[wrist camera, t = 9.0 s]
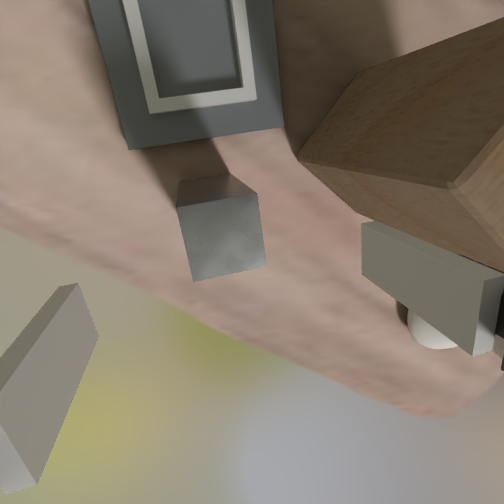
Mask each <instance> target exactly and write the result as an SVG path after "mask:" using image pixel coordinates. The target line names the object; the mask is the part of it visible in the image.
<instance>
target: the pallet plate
mask: <svg viewBox="0 0 504 504" xmlns="http://www.w3.org/2000/svg"><path fill="white" fill-rule="evenodd" d="M88 2H89V6H90V9H91V13H92V17H93V20H94V24H95V28H96V31H97V35H98V39H99V42H100V46H101V50H102V53H103V57H104V61H105V64H106V68H107V72H108V75H109V79H110V83H111V86H112V90H113V94H114V97H115V101H116V105H117V108H118V112H119V116H120V119H121V123H122V127H123V130H124V134H125V138H126V141H127V145H128V149H129V150H133V149H139V148H146V147H153V146H159V145H166V144H172V143H179V142H186V141H192V140H199V139H205V138H212V137H218V136H225V135H232V134H238V133H245V132H251V131H258V130H265V129H271V128H278V127H284V117H283V107H282V96H281V86H280V75H279V64H278V54H277V43H276V32H275V22H274V11H273V0H88Z"/></svg>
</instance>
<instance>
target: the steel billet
mask: <svg viewBox="0 0 504 504" xmlns="http://www.w3.org/2000/svg"><path fill="white" fill-rule="evenodd" d="M176 209H177V214H178V218H179V222H180V227H181V231H182V235H183V239H184V244H185V248H186V252H187V256H188V261H189V265H190V269H191V273H192V278H193V282H195V281H200V280H205V279H209V278H214V277H219V276H223V275H228V274H232V273H237V272H242V271H246V270H251V269H256V268H260V267H265V266H267V264H266V256H265V249H264V241H263V234H262V226H261V219H260V211H259V204H258V196H257V193H256V192H255V191H253V190H252V189H251V188H249V187H248V186H247V185H245V184H244V183H243V182H241V181H240V180H239V179H237V178H236V177H234V176H233V175H232V174H224V175H218V176H212V177H206V178H201V179H195V180H189V181H183V182H179V187H178V196H177V204H176Z"/></svg>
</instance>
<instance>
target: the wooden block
mask: <svg viewBox="0 0 504 504" xmlns="http://www.w3.org/2000/svg"><path fill="white" fill-rule="evenodd" d="M296 158H297V160H298V161H299V162H300V163H301V164H302V165H303V166H304V167H305V168H307V169H308V170H309V171H310V172H311V173H312V174H313V175H315V176H316V177H317V178H318V179H319V180H320V181H321V182H322V183H324V184H325V185H326V186H327V187H328V188H329V189H330V190H332V191H333V192H334V193H335V194H336V195H337V196H338V197H339V198H341V199H342V200H343V201H344V202H345V203H346V204H347V205H348V206H350V207H351V208H352V209H353V210H354V211H355V212H356V213H358V214H361V215H363V216H365V217H368V218H370V219H372V220H375V221H378V222H380V223H383V224H385V225H387V226H390V227H392V228H395V229H397V230H399V231H402V232H404V233H407V234H409V235H411V236H414V237H416V238H419V239H421V240H424V241H426V242H428V243H431V244H433V245H436V246H438V247H440V248H443V249H445V250H448V251H450V252H452V253H455V254H459V255H463V256H465V257H468V258H470V259H473V260H475V262H476V261H478V262H480V263H482V264H485V266H490V267H492V268H495V269H497V270H499V271H502V272H504V17H503V18H500V19H498V20H495V21H493V22H490V23H487V24H485V25H482V26H479V27H477V28H474V29H472V30H469V31H466V32H464V33H461V34H458V35H456V36H453V37H451V38H448V39H445V40H443V41H440V42H437V43H435V44H432V45H429V46H427V47H424V48H422V49H419V50H416V51H414V52H411V53H408V54H406V55H403V56H401V57H398V58H395V59H393V60H390V61H387V62H385V63H382V64H379V65H377V66H374V67H372V68H369V69H366V70H364V71H361V72H359V73H358V74H357V75H356V76H355V78H354V79H353V80H352V82H351V83H350V84H349V86H348V87H347V88H346V90H345V91H344V92H343V94H342V95H341V96H340V98H339V99H338V100H337V102H336V103H335V104H334V105H333V107H332V108H331V109H330V111H329V112H328V113H327V115H326V116H325V117H324V119H323V120H322V121H321V123H320V124H319V125H318V127H317V128H316V129H315V131H314V132H313V133H312V135H311V136H310V137H309V139H308V140H307V141H306V142H305V144H304V145H303V146H302V148H301V149H300V150H299V152H298V153H297V156H296Z"/></svg>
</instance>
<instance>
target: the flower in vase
mask: <svg viewBox="0 0 504 504" xmlns="http://www.w3.org/2000/svg"><path fill="white" fill-rule="evenodd" d="M407 322H408V329H409V332H410V334H411V336H412V338H413V339H414V340H415V341H416V342H417V343H419V344H420V345H423V346H425V347H428V348H432V349H445V348H452V347H456V346H458V345H457V344H455V343H454V342H453V341H451V340H450V339H449V338H447V337H446V336H444V335H443V334H442V333H440V332H439V331H438V330H436V329H435V328H434V327H432V326H431V325H430V324H428V323H427V322H426V321H424V320H423V319H422V318H420V317H419V316H418V315H416V314H415V313H413V312H412V311H411V310H408V315H407ZM492 352H494V353H495V354H496V355H498V356H499V357H500V358H501V359H503V355H504V339H503V338H501V337H500V336H498V335H497V334H496V335H495V340H494V346H493V350H492Z"/></svg>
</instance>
